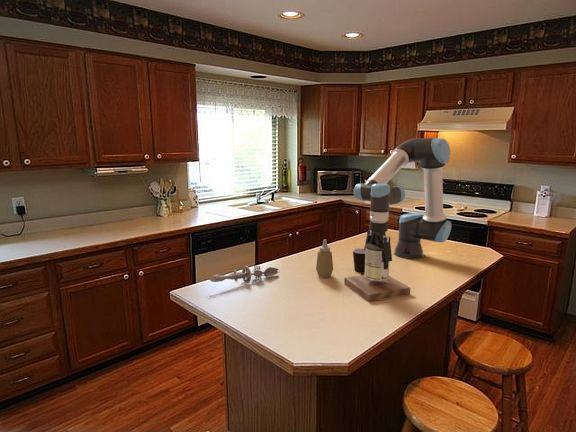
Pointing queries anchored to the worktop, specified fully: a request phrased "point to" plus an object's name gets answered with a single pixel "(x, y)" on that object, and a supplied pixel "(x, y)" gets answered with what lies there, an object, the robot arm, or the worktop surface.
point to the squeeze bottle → (324, 261)
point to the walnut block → (376, 288)
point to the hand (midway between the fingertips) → (376, 271)
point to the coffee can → (374, 262)
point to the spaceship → (245, 274)
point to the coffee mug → (359, 260)
